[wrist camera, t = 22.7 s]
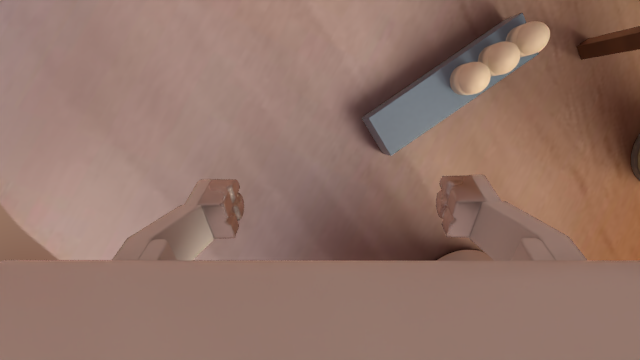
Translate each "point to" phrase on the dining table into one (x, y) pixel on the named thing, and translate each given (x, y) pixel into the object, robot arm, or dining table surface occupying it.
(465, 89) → the egg holder
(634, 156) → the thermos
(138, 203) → the dining table surface
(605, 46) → the crate stand
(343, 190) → the dining table surface
